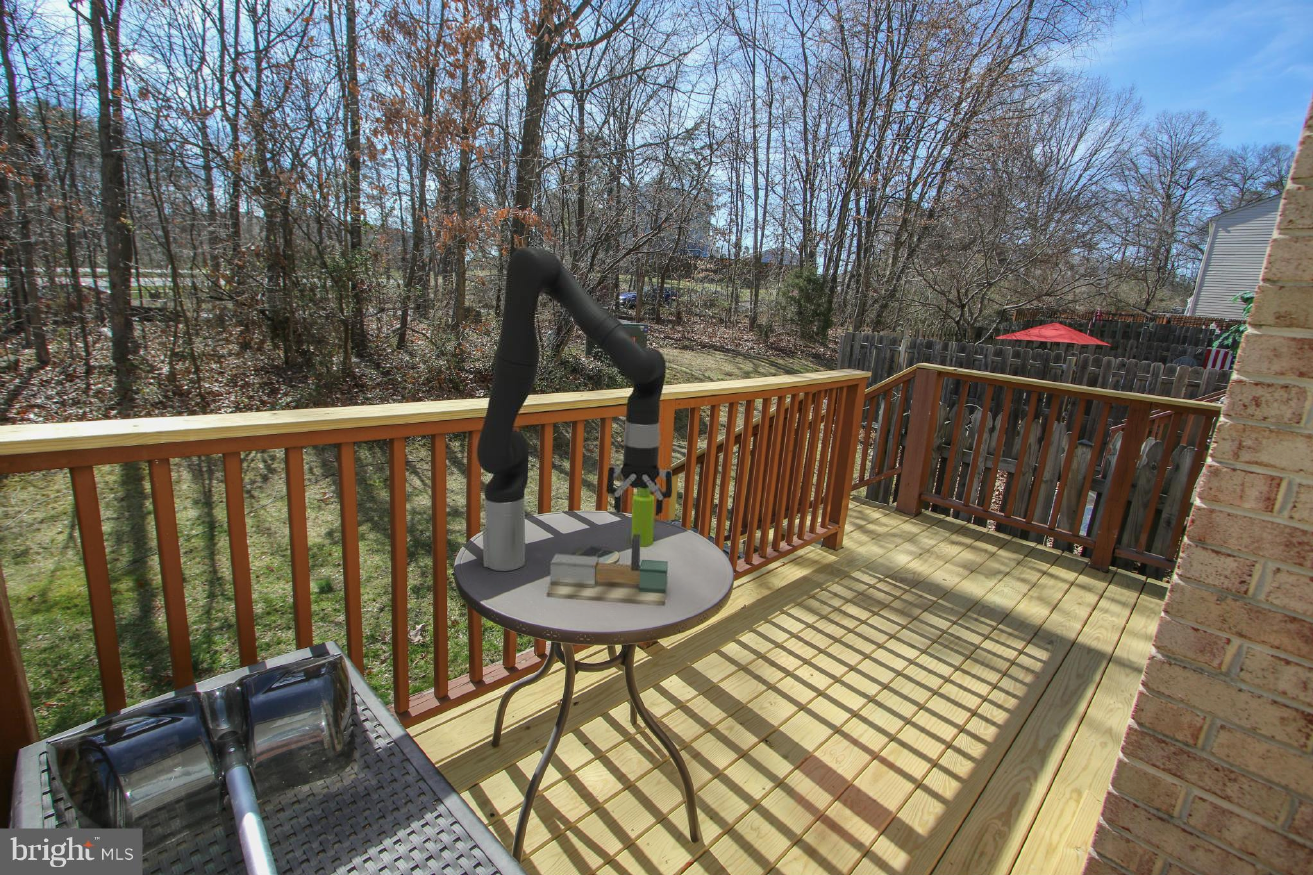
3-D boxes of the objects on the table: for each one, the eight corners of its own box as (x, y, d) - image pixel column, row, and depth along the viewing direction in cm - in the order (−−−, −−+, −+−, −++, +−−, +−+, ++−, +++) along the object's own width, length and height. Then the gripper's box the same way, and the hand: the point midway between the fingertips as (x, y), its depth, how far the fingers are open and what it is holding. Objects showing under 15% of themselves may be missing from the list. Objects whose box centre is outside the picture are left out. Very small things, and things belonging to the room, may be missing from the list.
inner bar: (575, 578, 138) (576, 535, 136) (578, 573, 141) (578, 530, 139) (655, 584, 137) (656, 540, 135) (656, 578, 140) (657, 535, 138)
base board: (546, 596, 135) (546, 592, 135) (559, 572, 146) (559, 568, 146) (664, 605, 133) (664, 601, 133) (667, 580, 145) (667, 576, 144)
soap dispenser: (637, 549, 161) (639, 477, 157) (628, 539, 168) (630, 469, 163) (657, 546, 164) (660, 475, 159) (647, 537, 170) (650, 468, 165)
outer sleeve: (550, 585, 138) (550, 562, 137) (555, 575, 143) (555, 553, 142) (594, 588, 137) (594, 565, 136) (598, 578, 142) (598, 556, 141)
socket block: (638, 591, 137) (639, 569, 135) (640, 581, 141) (641, 559, 140) (665, 593, 136) (666, 570, 135) (666, 583, 141) (667, 561, 140)
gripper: (606, 444, 128) (603, 516, 132) (673, 448, 127) (669, 521, 131) (611, 435, 135) (609, 505, 139) (675, 440, 134) (671, 509, 138)
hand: (638, 513), depth 135 cm, fingers open, 8 cm apart
